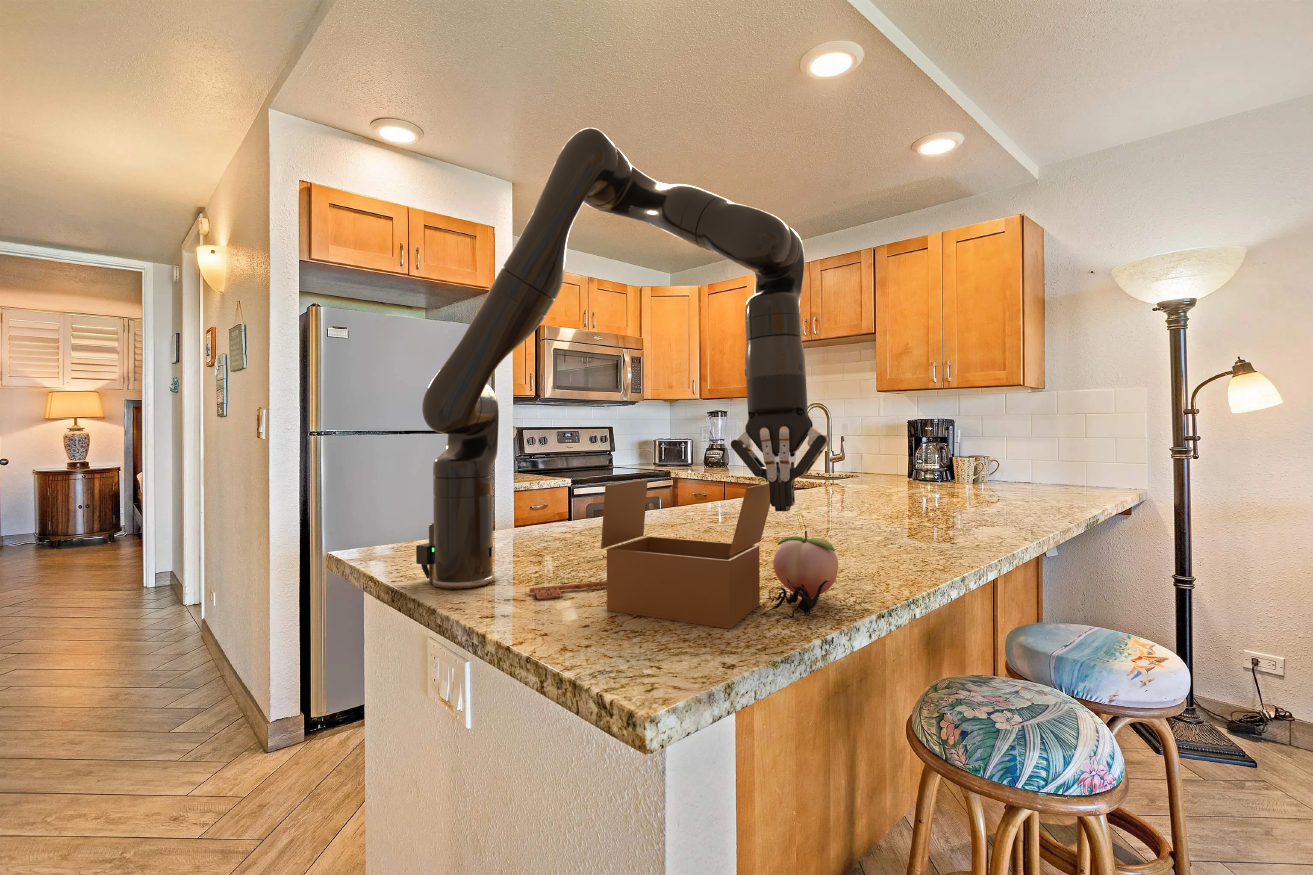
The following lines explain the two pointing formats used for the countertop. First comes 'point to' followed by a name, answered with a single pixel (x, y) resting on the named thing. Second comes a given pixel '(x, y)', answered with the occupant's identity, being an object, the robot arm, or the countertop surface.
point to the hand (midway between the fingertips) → (782, 510)
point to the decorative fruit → (806, 563)
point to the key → (555, 591)
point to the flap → (751, 518)
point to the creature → (805, 602)
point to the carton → (673, 568)
